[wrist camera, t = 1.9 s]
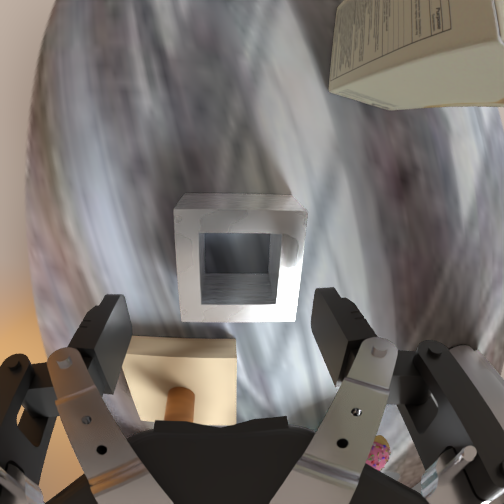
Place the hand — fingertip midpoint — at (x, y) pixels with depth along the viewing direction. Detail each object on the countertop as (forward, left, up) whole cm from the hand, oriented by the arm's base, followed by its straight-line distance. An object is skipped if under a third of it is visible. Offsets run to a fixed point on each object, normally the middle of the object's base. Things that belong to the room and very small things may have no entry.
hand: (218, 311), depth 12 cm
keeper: (+3, +10, -6) cm, 12 cm away
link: (-1, -1, -6) cm, 6 cm away
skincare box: (-8, -13, -6) cm, 16 cm away
